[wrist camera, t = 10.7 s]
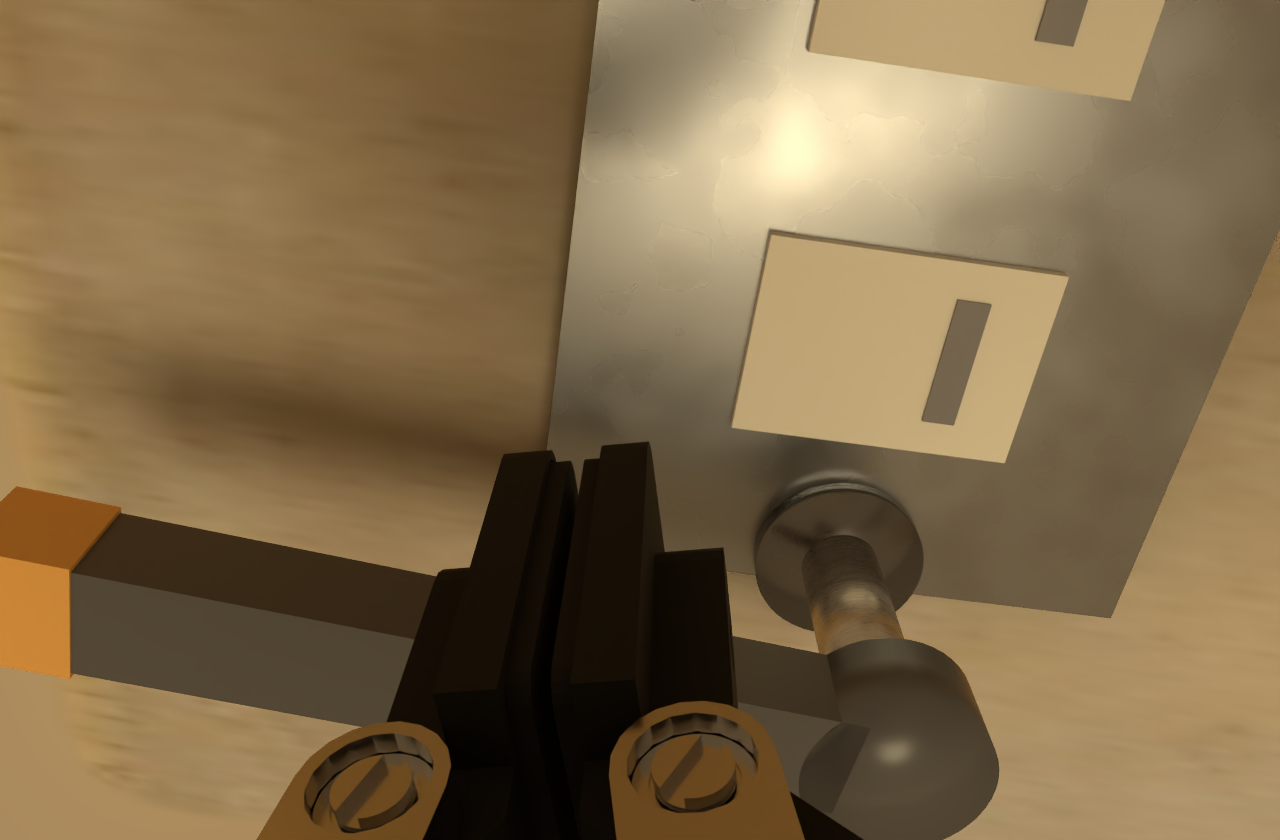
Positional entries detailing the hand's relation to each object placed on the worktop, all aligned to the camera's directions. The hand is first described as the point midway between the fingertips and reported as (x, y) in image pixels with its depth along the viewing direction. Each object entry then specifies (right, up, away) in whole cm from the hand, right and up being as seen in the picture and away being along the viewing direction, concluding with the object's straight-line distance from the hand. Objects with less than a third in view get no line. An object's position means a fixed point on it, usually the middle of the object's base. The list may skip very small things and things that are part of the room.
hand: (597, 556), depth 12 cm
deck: (+7, +6, +13) cm, 16 cm away
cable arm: (-2, -3, +10) cm, 11 cm away
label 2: (+7, +3, +13) cm, 15 cm away
